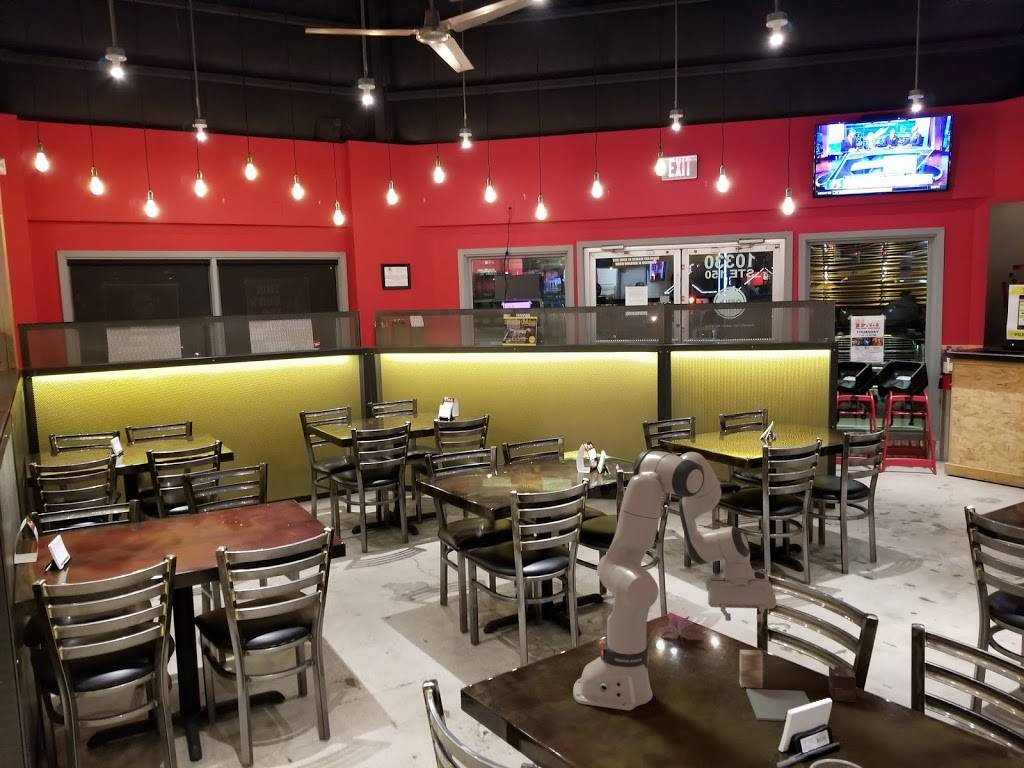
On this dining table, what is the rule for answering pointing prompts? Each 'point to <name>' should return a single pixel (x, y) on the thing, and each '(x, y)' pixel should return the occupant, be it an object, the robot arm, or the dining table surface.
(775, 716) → the placemat
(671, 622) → the lily
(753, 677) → the birch slab
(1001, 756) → the dining table surface
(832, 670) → the box
